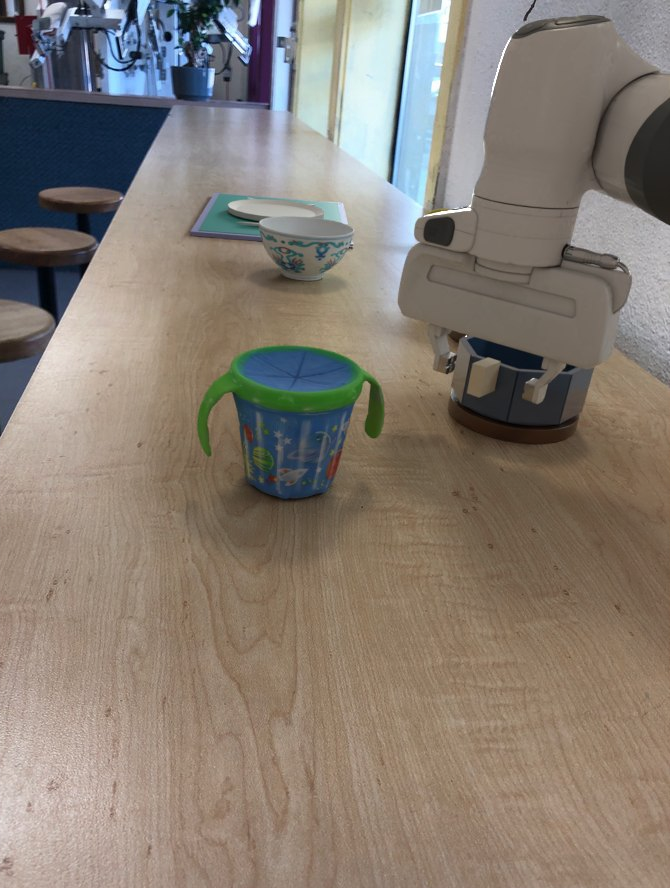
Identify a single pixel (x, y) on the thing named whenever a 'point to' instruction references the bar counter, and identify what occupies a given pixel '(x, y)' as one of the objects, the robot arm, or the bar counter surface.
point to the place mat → (257, 214)
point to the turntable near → (510, 426)
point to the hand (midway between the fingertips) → (486, 385)
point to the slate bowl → (514, 384)
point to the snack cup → (293, 415)
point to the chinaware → (305, 244)
